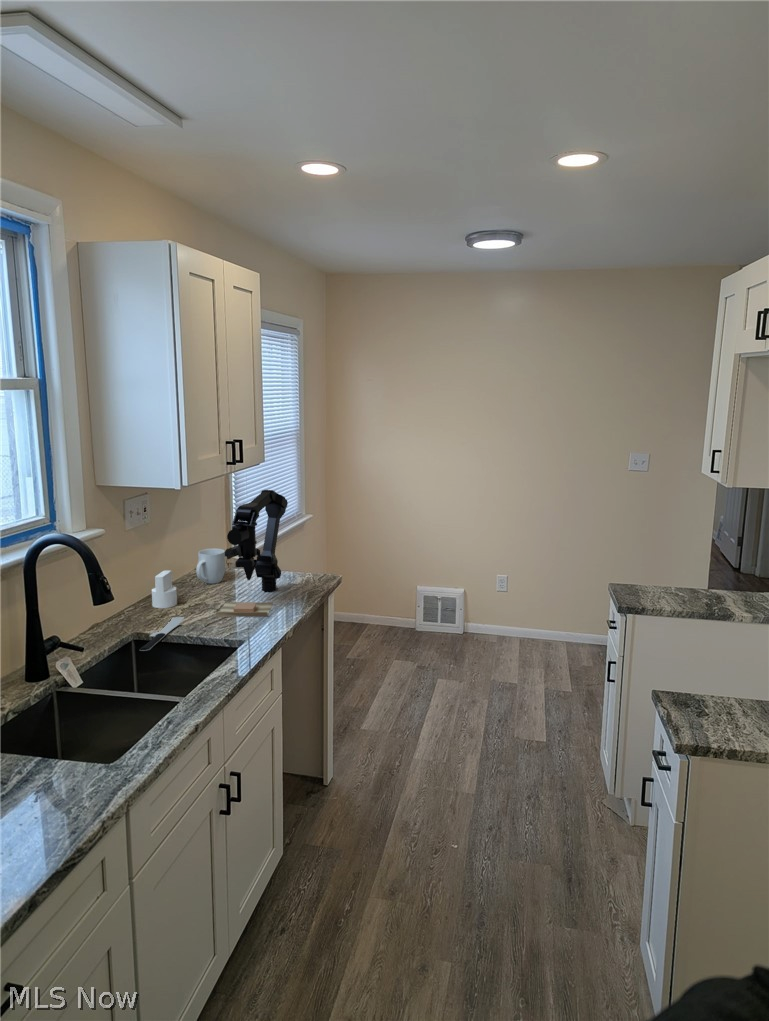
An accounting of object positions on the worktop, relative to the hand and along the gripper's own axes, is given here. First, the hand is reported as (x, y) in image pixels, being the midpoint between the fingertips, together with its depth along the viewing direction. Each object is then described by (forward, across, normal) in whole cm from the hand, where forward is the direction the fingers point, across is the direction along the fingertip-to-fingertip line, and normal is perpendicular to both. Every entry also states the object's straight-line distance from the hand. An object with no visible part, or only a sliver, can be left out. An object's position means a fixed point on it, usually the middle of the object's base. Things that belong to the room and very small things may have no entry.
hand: (248, 579), depth 257 cm
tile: (+8, +6, 0) cm, 10 cm away
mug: (+10, -30, -21) cm, 38 cm away
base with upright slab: (+10, 0, -32) cm, 33 cm away
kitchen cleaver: (+11, +30, -25) cm, 40 cm away
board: (+10, +8, 0) cm, 12 cm away
